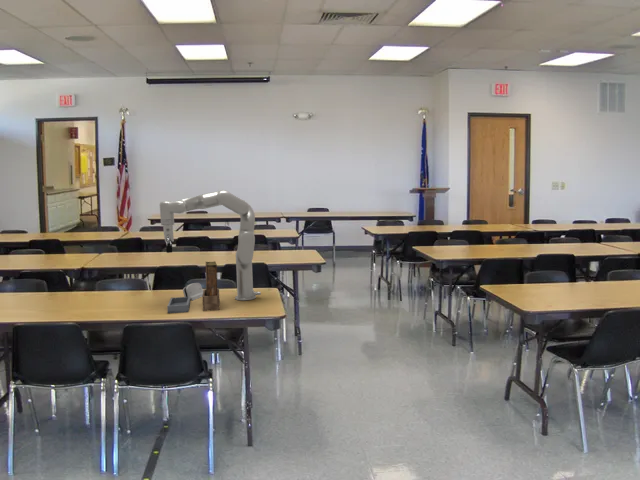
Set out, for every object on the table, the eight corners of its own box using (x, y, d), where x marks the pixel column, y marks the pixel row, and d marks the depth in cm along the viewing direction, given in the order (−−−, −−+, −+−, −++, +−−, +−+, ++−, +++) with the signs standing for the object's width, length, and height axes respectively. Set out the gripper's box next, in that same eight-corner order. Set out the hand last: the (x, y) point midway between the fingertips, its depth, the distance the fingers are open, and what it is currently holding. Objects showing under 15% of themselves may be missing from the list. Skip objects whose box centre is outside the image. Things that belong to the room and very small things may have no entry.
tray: (190, 303, 324) (190, 296, 323) (188, 312, 302) (187, 305, 302) (171, 304, 322) (170, 297, 321) (167, 313, 300) (167, 306, 300)
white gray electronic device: (192, 300, 331) (186, 285, 331) (186, 302, 332) (180, 287, 332) (206, 294, 346) (201, 280, 346) (200, 297, 348) (195, 282, 348)
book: (217, 309, 308) (216, 265, 305) (207, 309, 307) (206, 265, 304) (215, 302, 324) (215, 260, 321) (206, 303, 322) (205, 261, 320)
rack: (219, 301, 326) (219, 288, 325) (219, 309, 306) (218, 295, 305) (204, 302, 325) (203, 289, 324) (203, 310, 304) (202, 296, 303)
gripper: (174, 223, 312) (176, 252, 314) (174, 221, 329) (175, 249, 331) (160, 223, 310) (162, 253, 312) (161, 221, 327) (162, 250, 329)
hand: (169, 251), depth 321 cm, fingers open, 9 cm apart
